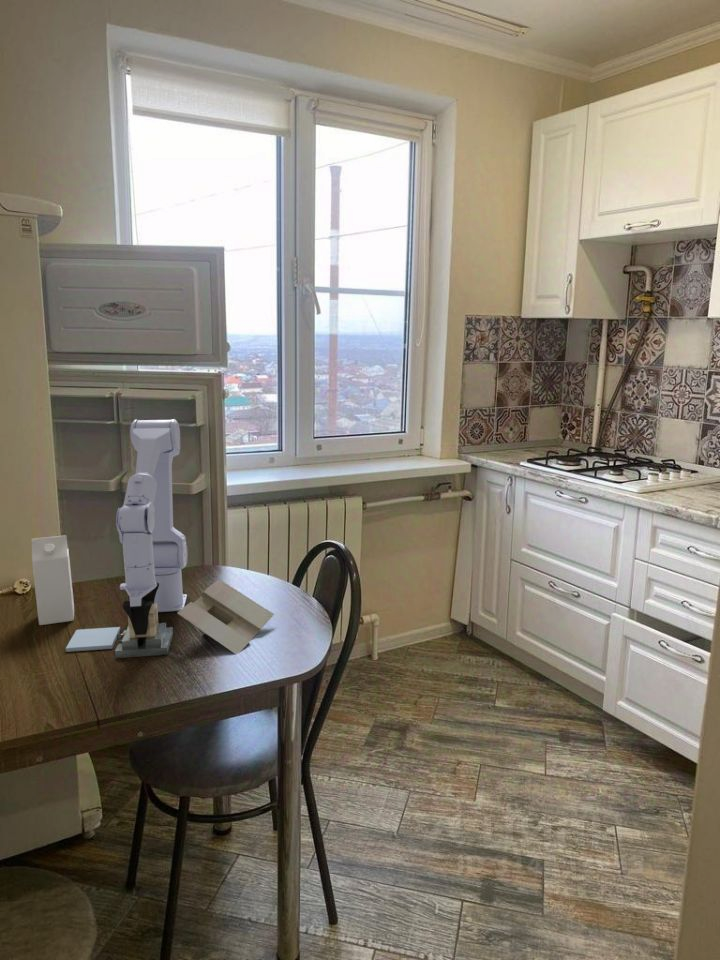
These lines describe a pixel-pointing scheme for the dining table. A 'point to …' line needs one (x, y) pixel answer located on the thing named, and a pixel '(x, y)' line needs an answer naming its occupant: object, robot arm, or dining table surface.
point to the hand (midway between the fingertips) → (144, 626)
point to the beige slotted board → (227, 616)
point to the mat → (93, 639)
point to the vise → (144, 643)
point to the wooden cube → (151, 624)
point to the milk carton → (52, 580)
